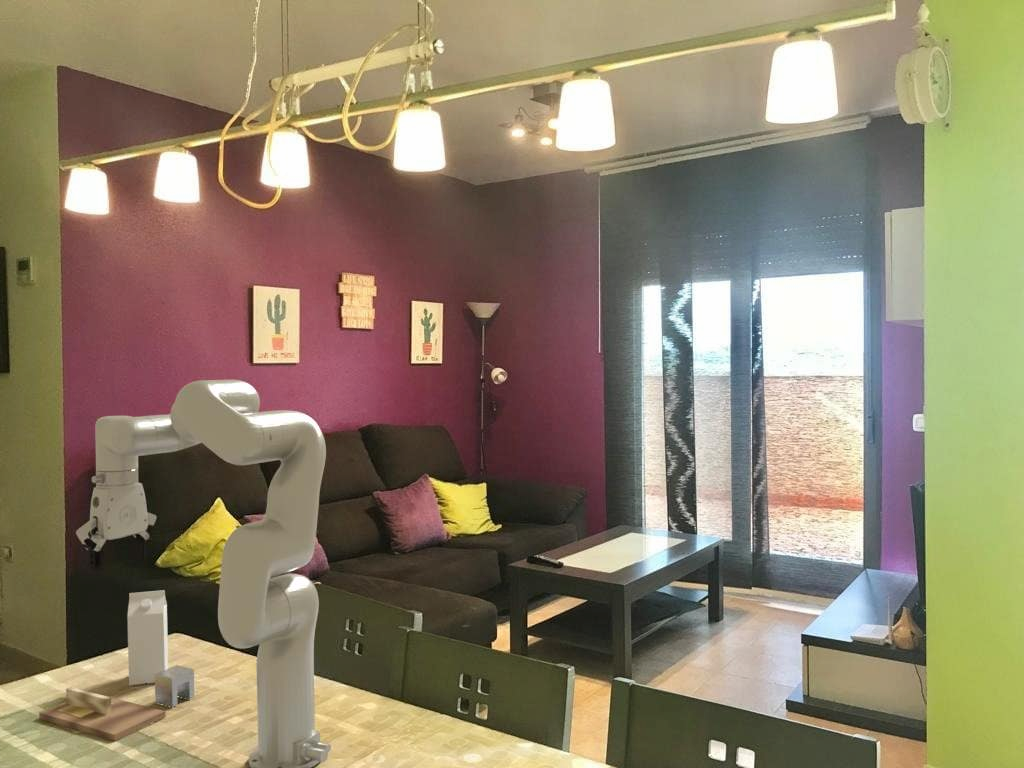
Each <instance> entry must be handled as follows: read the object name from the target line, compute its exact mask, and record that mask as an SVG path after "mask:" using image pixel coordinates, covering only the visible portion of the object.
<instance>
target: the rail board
mask: <svg viewBox="0 0 1024 768" xmlns="http://www.w3.org/2000/svg"><path fill="white" fill-rule="evenodd" d="M65 692H66V694H65V695H66V697H65V698H66V700H65V702H62V703H60V704H57V705H55V706H52V707H50V708H46V709H44V710H42V711H40V712H38V716H39V717H38V718H39V720H42V721H47V722H49V723H53V724H57V725H59V726H62V727H66V728H69V727H70V729H72V728H73V730H76V729H77V730H76V731H79V730H81V731H80V732H82V733H86V732H87V734H89V733H90V735H93V736H96V735H97V737H99V736H101V737H100V738H103V737H104V738H103V739H106V738H108V739H107V740H110V739H111V741H113V740H114V742H116V740H117V741H118V739H119V740H121V739H123V738H125V737H127V735H128V736H129V734H130V735H132V734H134V733H136V732H138V731H140V730H142V729H144V728H143V727H145V726H147V725H149V724H151V723H153V722H155V721H157V720H159V719H162V718H164V717H166V716H167V713H166V712H167V711H166V710H161V709H157V708H154V707H151V706H147V705H142V704H138V703H134V702H132V701H126V700H123V699H120V698H116V697H112V696H109V695H108V696H107V695H104V694H100V693H97V692H92V691H88V690H83V689H80V688H76V687H73V686H70V687H67V688H66V689H65ZM164 719H165V718H164ZM162 720H163V719H162ZM159 721H160V720H159ZM157 722H158V721H157ZM155 723H156V722H155ZM153 724H154V723H153ZM151 725H152V724H151ZM149 726H150V725H149ZM147 727H148V726H147ZM141 728H142V729H141ZM145 728H146V727H145ZM137 730H138V731H137ZM133 732H134V733H133ZM131 733H132V734H131ZM122 737H123V738H122Z"/></svg>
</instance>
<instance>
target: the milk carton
mask: <svg viewBox="0 0 1024 768" xmlns="http://www.w3.org/2000/svg"><path fill="white" fill-rule="evenodd" d="M128 596H129V597H128V598H129V600H128V606H127V617H126V618H127V652H128V653H127V654H128V658H127V659H128V684H129V686H139V685H146V684H145V683H147V684H155V674H156V673H159V672H161V671H164V670H166V669H168V668H169V640H168V639H169V638H168V602H167V598H166V591H165V589H163V590H161V589H160V590H153V591H140V592H130V593H129V594H128Z"/></svg>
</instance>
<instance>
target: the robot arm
mask: <svg viewBox="0 0 1024 768" xmlns="http://www.w3.org/2000/svg"><path fill="white" fill-rule="evenodd" d="M260 401H261V400H260V395H259V393H258V391H257V390H256V388H254V387H253V385H252V384H250V383H248V382H247V381H243V380H239V379H213V380H212V379H208V380H207V379H206V380H205V379H203V380H195V381H192V382H189V383H187V384H185V385H184V386H183V387H182V388H180V389H179V392H178V393H177V394H176V397H175V402H174V403H172V406H171V409H170V413H168V414H156V415H154V414H152V415H142V416H131V415H106V416H102V417H100V418H99V417H98V419H97V420H96V422H95V426H94V428H95V429H94V431H95V433H94V434H95V475H94V476H92V477H91V482H92V483H93V484H95V485H96V486H95V487H93V490H92V496H91V501H90V509H89V510H90V513H89V520H88V521H87V522H86V523H84V524H83V525H82V526H80V527H79V528H78V529H77V530H76V531H75V534H76V536H77V538H78V540H79V541H80V544H81V545H82V546H83V547H84V548H85V549H86V550H87V551H88V558H89V559H88V564H89V565H88V566H89V569H90V571H94V572H98V573H99V572H103V571H104V569H105V563H104V562H105V560H104V555H105V554H104V550H102V547H103V546H104V545H105V543H106V541H107V540H109V541H111V540H117V539H122V538H126V537H131V536H133V537H134V538H133V539H132V558H133V559H134V560H139V561H145V560H147V540H149V539H150V534H151V533H152V531H153V530H154V525H155V523H156V521H157V515H156V514H153V513H150V512H148V509H147V499H146V493H145V490H144V486H143V483H141V482H139V457H140V456H142V457H143V456H149V455H157V454H164V453H165V454H166V453H174V452H178V451H182V450H185V449H188V448H190V447H194V446H196V445H200V444H201V443H202V445H204V446H205V447H206V448H207V449H209V450H210V451H211V452H213V453H214V454H215V455H216V456H218V457H219V458H220V459H222V460H223V461H225V462H226V463H229V464H232V465H235V466H247V465H249V466H250V465H254V464H260V463H267V462H268V463H269V462H273V461H278V460H279V462H280V465H279V468H277V470H276V472H275V474H274V475H273V477H272V479H271V481H270V484H269V486H268V487H269V488H268V491H267V498H266V501H267V503H266V509H265V514H264V517H263V518H262V519H259V520H256V521H252V522H248V523H245V524H243V525H242V524H241V526H239V527H237V528H235V530H234V529H233V531H232V532H231V533H230V534H229V536H228V537H227V540H226V541H225V544H224V546H223V549H222V555H221V562H220V563H221V565H220V567H221V568H220V575H219V576H220V577H219V591H218V592H219V593H218V602H217V603H218V605H217V620H218V622H217V623H218V627H219V631H220V633H221V636H222V638H223V639H224V641H225V642H226V643H227V644H228V645H230V646H231V647H234V648H235V649H248V648H252V647H256V646H258V650H257V655H256V664H255V665H256V704H257V705H256V706H257V708H256V709H257V712H256V713H257V716H256V717H257V746H256V747H255V748H254V749H252V750H251V752H250V753H249V756H248V765H249V766H248V767H250V768H313V767H315V766H316V765H318V764H319V763H322V764H323V763H324V762H326V761H327V759H328V755H329V753H330V751H331V749H332V746H331V745H332V744H330V743H326V742H322V741H321V736H320V735H321V733H320V732H321V731H319V730H316V723H315V722H316V719H315V717H316V716H315V713H316V712H315V664H314V663H315V656H314V655H315V652H314V650H315V632H316V627H317V621H318V616H319V615H318V614H319V606H320V601H319V595H318V590H317V588H316V586H315V584H314V583H313V581H311V580H310V578H308V577H307V576H304V575H301V574H299V573H289V572H293V571H295V570H299V569H301V568H303V567H305V566H306V565H307V564H309V563H310V562H311V560H312V558H313V556H314V553H315V550H316V549H315V547H316V538H317V530H318V528H317V527H318V517H319V516H318V515H319V506H320V494H321V493H320V491H321V485H322V480H323V474H324V469H325V464H326V457H327V447H326V440H325V437H324V434H323V432H322V430H321V427H320V426H319V425H318V424H317V422H316V421H315V420H314V419H313V418H312V417H310V416H309V415H307V414H305V413H303V412H301V411H296V410H291V409H290V410H289V409H288V410H287V409H283V410H282V409H281V410H280V409H279V410H267V411H259V410H260V407H261V406H260V405H261V402H260ZM89 532H90V536H89Z"/></svg>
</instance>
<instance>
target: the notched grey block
mask: <svg viewBox="0 0 1024 768" xmlns="http://www.w3.org/2000/svg"><path fill="white" fill-rule="evenodd" d="M177 696H179V697H182V698H181V699H183V698H186V699H185V700H187V699H191V700H193V699H195V669H194V668H191V667H187V666H182V665H177V664H176V665H174V666H171V667H168V669H166V670H164V671H161V672H159V673H156V674H155V683H154V697H155V698H154V701H155V702H154V703H159V704H163V705H166V706H165V707H167V706H170V707H169V708H171V707H174V706H176V707H178V706H179V705H178V704H179V702H178V699H179V697H177ZM192 698H193V699H192ZM159 704H158V705H159ZM163 705H162V706H163ZM177 705H178V706H177ZM174 708H175V707H174Z"/></svg>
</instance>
